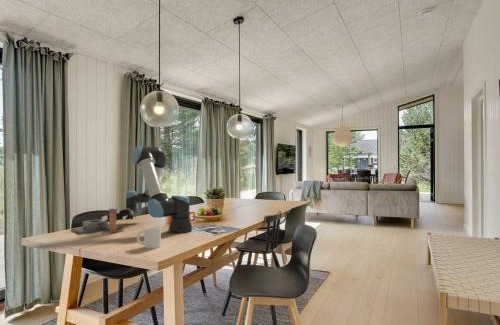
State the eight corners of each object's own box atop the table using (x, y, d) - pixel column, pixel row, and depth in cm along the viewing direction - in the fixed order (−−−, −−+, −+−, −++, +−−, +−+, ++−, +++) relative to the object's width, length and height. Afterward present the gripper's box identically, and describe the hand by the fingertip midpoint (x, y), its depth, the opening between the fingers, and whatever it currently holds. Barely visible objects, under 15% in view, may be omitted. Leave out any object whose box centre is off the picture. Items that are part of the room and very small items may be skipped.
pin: (115, 231, 211) (115, 208, 212) (118, 232, 208) (118, 209, 208) (107, 232, 208) (107, 209, 208) (110, 233, 204) (110, 209, 205)
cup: (161, 248, 169) (161, 228, 169) (137, 250, 165) (137, 230, 165) (159, 244, 177) (159, 225, 177) (136, 246, 172) (136, 227, 172)
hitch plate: (108, 225, 231) (108, 217, 231) (118, 229, 219) (118, 220, 219) (71, 230, 215) (71, 221, 215) (80, 234, 202) (80, 225, 202)
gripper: (143, 219, 230) (131, 225, 209) (108, 219, 230) (93, 224, 209) (143, 209, 230) (131, 213, 209) (108, 208, 230) (93, 213, 209)
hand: (112, 219), depth 209 cm, fingers open, 13 cm apart
